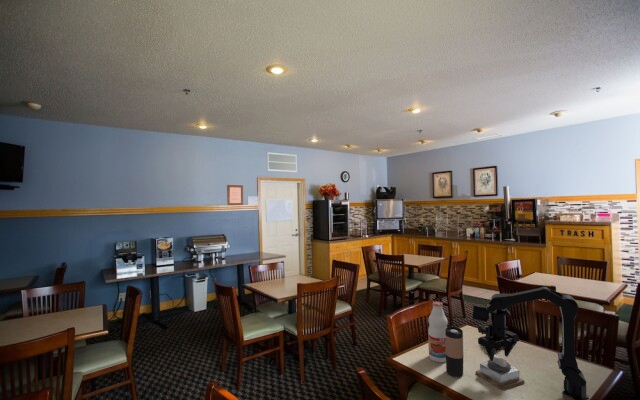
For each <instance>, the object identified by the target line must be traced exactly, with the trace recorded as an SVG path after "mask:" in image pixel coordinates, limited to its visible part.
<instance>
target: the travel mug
mask: <svg viewBox="0 0 640 400" xmlns="http://www.w3.org/2000/svg"><path fill="white" fill-rule="evenodd" d="M445 347H446V362H445V369H446V374H447V375H448V376H449V377H453V378H462V377H463V376H464V330H463V329H461V328H459V327H455V326H447V328H446V329H445Z"/></svg>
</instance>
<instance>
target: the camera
mask: <svg viewBox="0 0 640 400" xmlns="http://www.w3.org/2000/svg"><path fill="white" fill-rule="evenodd" d="M489 324H490V323H486V324H485V326H488V325H489ZM485 336H486V337H488V338H492V337H491V336H488V334H485ZM502 345H503V346H504V343H503V341H500V342H496V345H495V348H496V350H495V352H501V346H502Z"/></svg>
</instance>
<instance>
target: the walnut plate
mask: <svg viewBox="0 0 640 400" xmlns="http://www.w3.org/2000/svg"><path fill="white" fill-rule="evenodd" d="M475 374H476V375H477V376H479V377H481V378H482V379H484V380H485V381H487V382H489V383H491V384H492V385H494V386H495V387H497V388H499V389H500V390H502V391H504V390H507V389H510V388H513V387H517V386H519V385H523V384H525V383H526V382H525V380H524V379H523V378H521V377H520V379H518V380H515V381H512V382H509V383H506V384H502V385H501V384H499V383H497V382H496V381H494V380H492V379H491V378H489V377H487V376H486V375H484V374H482V373H481V372H480V369H477V370H476V371H475Z"/></svg>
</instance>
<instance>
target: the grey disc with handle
mask: <svg viewBox="0 0 640 400" xmlns="http://www.w3.org/2000/svg"><path fill="white" fill-rule="evenodd" d="M487 361H488V366H489V367H490V368H492V369H494V370H496V371H499V372H508V371H510V370H511V366H512V365H511V364H510V363H509V362H508V361H507V360H506V359H504V358H502V357H500V356H498V355H497V354H494V358H493V361H491V360H490V359H488V360H487Z"/></svg>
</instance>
